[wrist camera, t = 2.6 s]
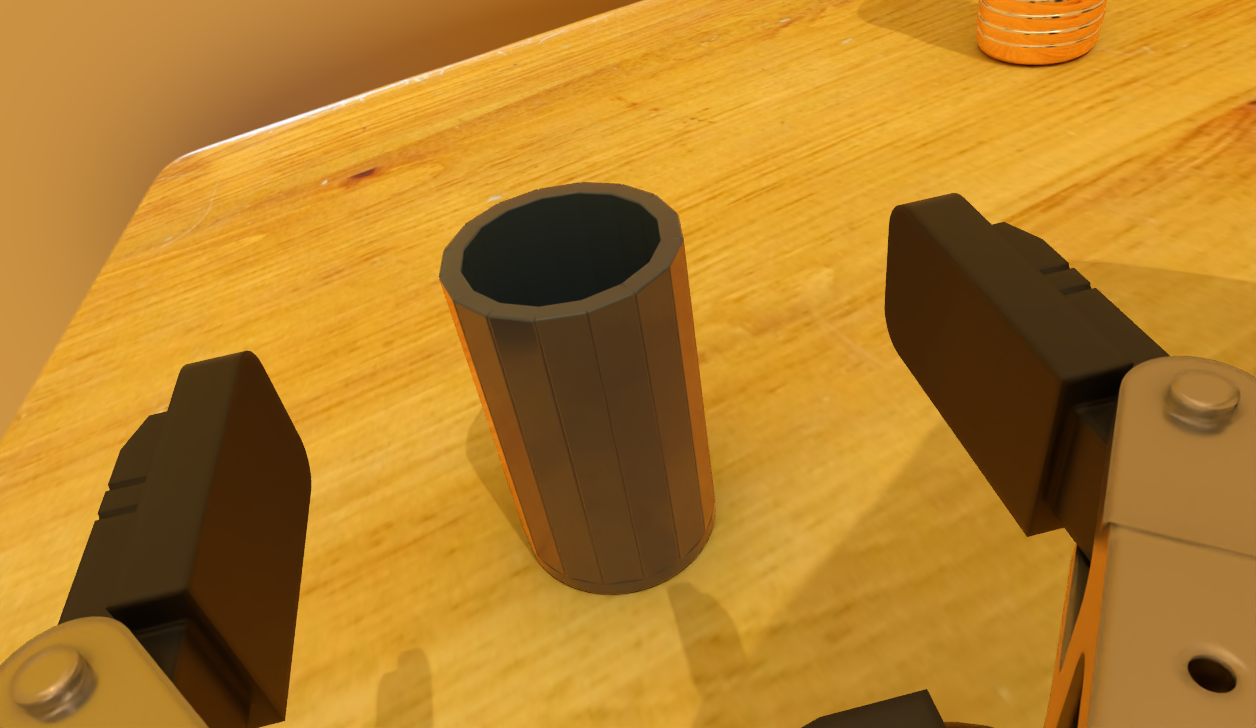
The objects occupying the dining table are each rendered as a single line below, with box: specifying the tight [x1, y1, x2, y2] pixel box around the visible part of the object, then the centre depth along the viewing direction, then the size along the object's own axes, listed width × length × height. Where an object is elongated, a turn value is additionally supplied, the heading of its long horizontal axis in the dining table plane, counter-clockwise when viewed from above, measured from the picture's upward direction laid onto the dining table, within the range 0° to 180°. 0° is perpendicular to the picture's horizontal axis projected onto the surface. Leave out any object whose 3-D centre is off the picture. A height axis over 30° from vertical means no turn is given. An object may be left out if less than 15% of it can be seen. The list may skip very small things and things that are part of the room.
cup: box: [439, 182, 715, 594], centre depth 27 cm, size 6×6×11 cm
